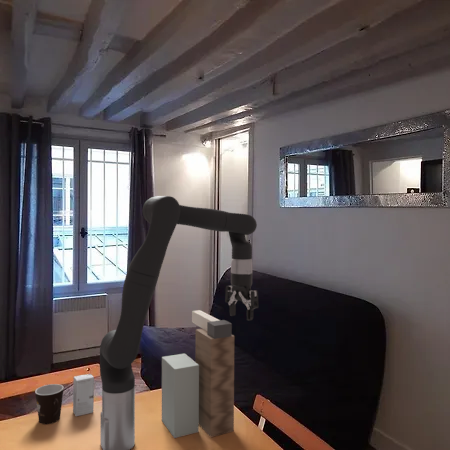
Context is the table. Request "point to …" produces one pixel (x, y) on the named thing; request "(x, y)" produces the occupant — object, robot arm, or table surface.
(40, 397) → the coffee mug
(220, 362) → the brown tall block
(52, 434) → the table surface
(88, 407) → the skincare box
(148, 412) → the table surface
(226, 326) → the bar
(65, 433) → the table surface
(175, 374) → the pale green block
